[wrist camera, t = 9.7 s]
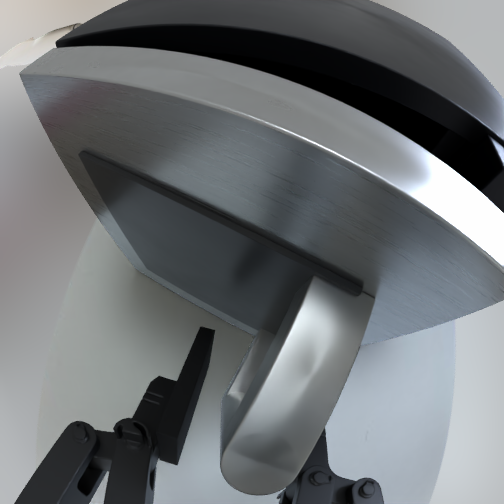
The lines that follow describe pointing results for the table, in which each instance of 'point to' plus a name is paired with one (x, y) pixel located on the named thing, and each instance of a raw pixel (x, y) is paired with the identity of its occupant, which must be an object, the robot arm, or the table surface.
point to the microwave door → (269, 225)
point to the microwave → (335, 66)
